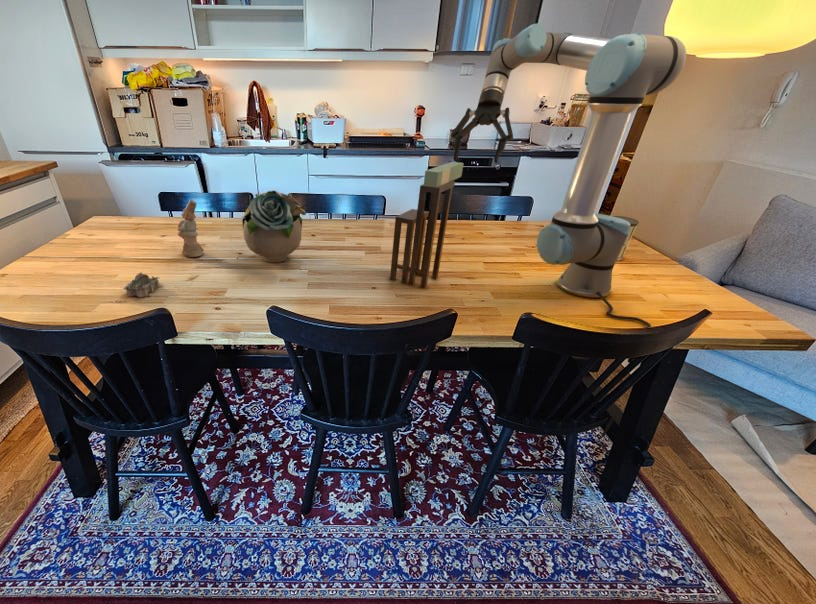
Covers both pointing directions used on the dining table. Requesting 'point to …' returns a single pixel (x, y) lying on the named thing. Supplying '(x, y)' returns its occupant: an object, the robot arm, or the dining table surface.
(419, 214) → the step rack
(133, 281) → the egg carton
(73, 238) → the dining table surface
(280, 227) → the flower arrangement
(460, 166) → the sage box
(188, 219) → the figurine
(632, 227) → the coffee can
